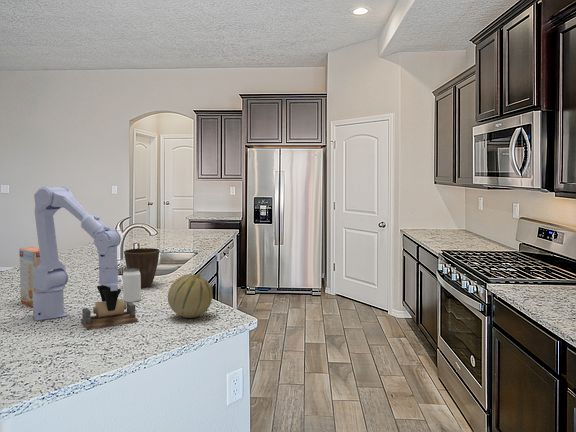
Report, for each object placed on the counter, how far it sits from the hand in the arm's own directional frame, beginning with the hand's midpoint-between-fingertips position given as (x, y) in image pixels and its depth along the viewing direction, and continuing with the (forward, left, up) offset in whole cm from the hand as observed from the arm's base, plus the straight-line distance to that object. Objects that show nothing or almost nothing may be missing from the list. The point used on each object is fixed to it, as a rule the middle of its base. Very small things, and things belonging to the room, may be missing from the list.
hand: (109, 308), depth 158 cm
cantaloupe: (+25, -9, -5) cm, 27 cm away
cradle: (0, 0, -4) cm, 4 cm away
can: (+15, +25, -5) cm, 29 cm away
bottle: (0, 0, -2) cm, 2 cm away
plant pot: (+26, +48, -5) cm, 55 cm away
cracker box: (-17, +39, -5) cm, 43 cm away
